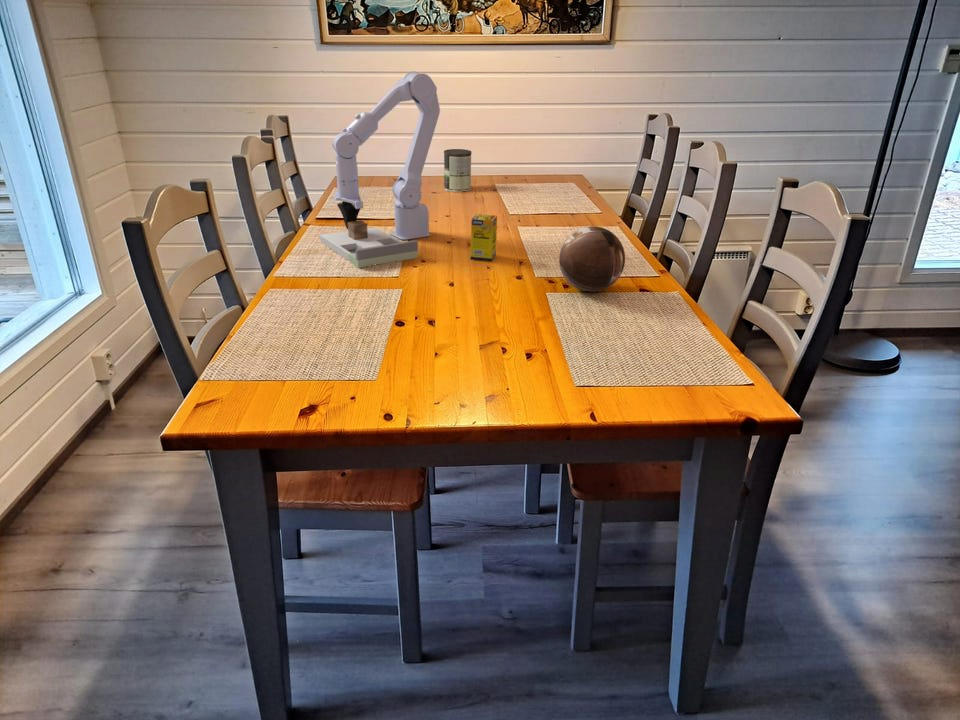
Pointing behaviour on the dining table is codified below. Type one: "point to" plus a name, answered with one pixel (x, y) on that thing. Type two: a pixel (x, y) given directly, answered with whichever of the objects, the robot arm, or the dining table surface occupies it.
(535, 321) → the dining table surface
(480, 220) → the supplement box
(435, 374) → the dining table surface
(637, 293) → the dining table surface
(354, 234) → the walnut block
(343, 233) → the board
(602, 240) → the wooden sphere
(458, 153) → the coffee can
